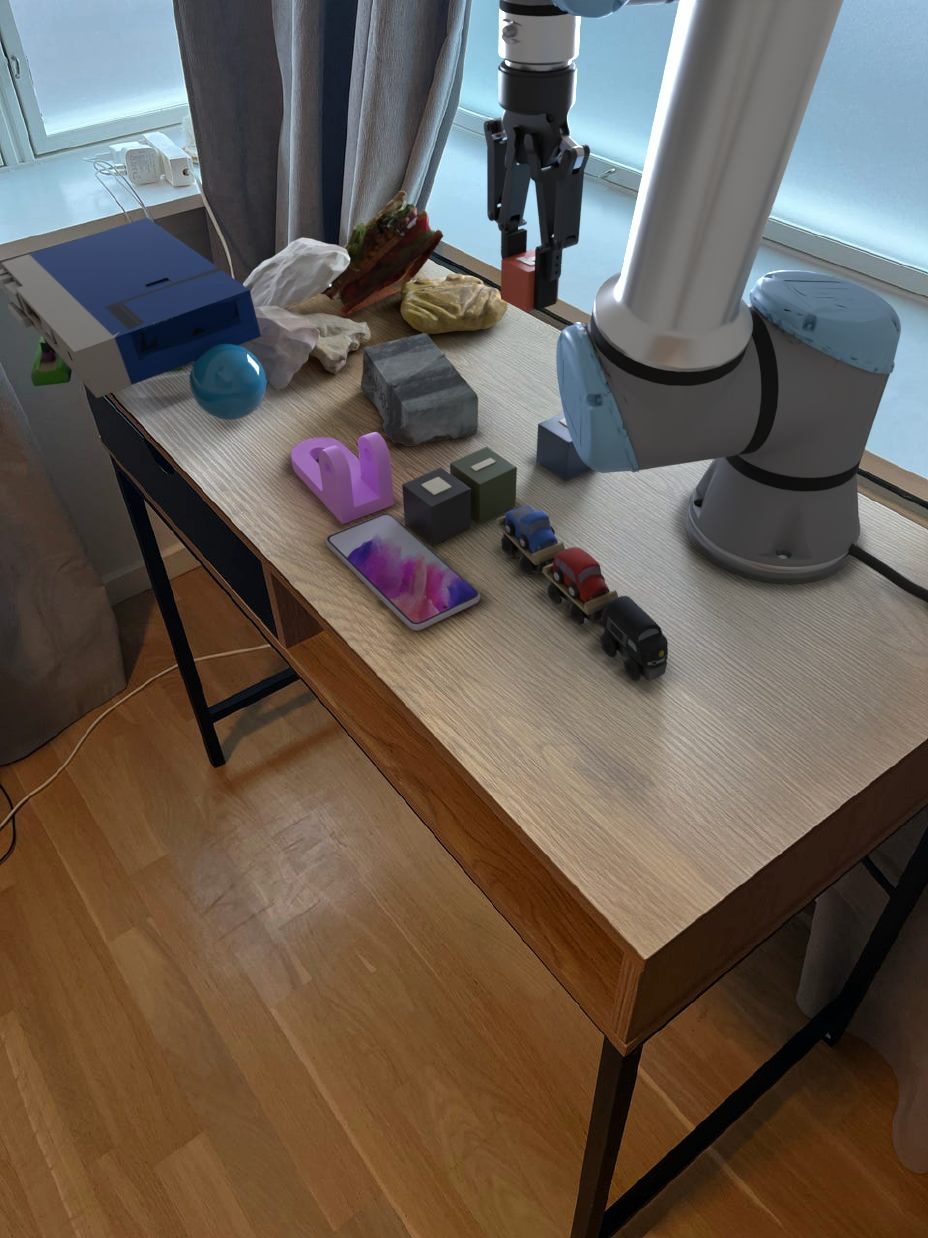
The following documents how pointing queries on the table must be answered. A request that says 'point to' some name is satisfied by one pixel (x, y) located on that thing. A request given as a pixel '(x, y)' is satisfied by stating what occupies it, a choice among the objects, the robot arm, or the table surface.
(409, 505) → the block
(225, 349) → the ball
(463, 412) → the stone block
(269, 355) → the stone tool
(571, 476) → the block
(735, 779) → the table surface
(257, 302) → the fragment
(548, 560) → the toy train
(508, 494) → the block
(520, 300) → the letter block
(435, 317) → the sculpture
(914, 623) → the table surface
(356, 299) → the sandwich
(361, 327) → the stone
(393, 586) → the smartphone
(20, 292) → the electronic device
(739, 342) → the robot arm
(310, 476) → the bracket
